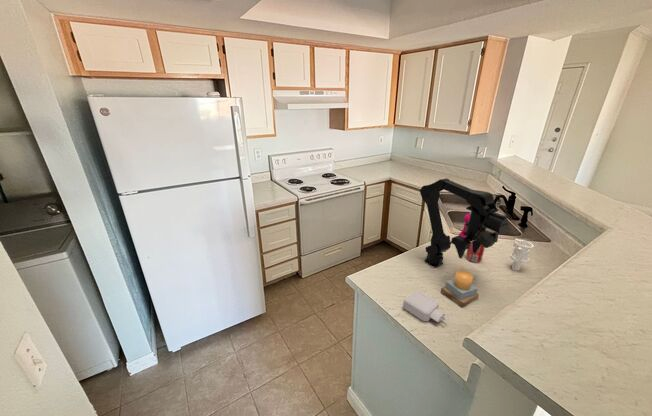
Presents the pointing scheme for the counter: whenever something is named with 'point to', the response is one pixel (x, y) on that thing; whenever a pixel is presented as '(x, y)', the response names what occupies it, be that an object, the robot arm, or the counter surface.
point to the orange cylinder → (463, 280)
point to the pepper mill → (466, 219)
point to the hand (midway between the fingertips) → (467, 255)
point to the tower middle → (458, 292)
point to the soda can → (475, 256)
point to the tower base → (455, 299)
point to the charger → (423, 307)
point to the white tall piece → (520, 253)
